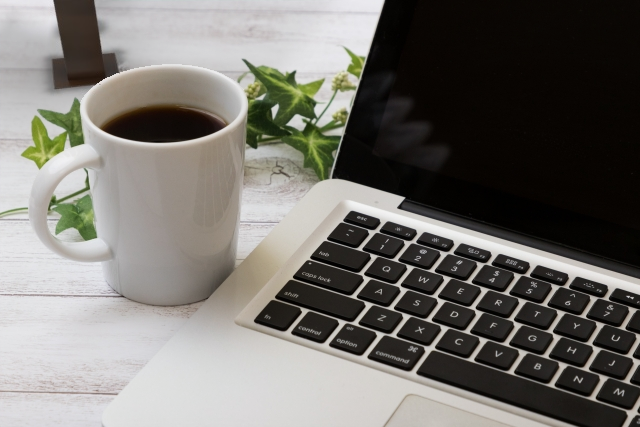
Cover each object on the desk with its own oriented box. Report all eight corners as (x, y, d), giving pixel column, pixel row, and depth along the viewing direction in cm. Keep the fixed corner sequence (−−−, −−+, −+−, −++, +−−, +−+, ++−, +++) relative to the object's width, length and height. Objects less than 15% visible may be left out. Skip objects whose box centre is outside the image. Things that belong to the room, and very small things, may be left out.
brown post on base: (52, 53, 90) (20, -108, 79) (112, 47, 92) (90, -111, 81) (57, 113, 80) (21, -62, 69) (125, 105, 82) (102, -67, 70)
